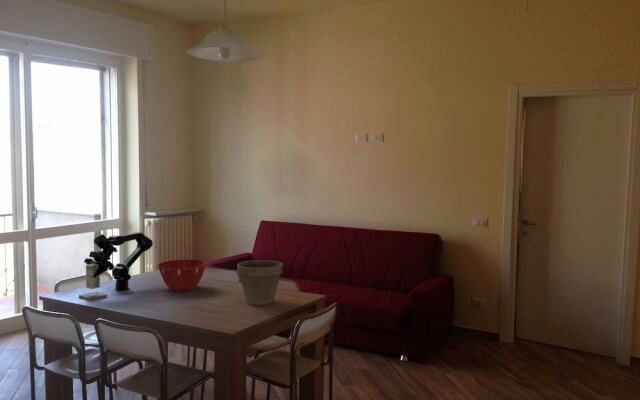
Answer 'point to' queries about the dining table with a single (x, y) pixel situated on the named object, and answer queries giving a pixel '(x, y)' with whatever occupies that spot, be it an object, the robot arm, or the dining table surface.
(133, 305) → the dining table surface
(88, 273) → the green post
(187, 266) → the mixing bowl
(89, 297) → the base board
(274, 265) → the plant pot
